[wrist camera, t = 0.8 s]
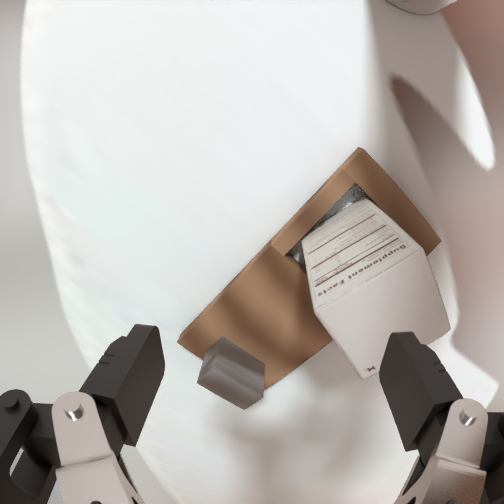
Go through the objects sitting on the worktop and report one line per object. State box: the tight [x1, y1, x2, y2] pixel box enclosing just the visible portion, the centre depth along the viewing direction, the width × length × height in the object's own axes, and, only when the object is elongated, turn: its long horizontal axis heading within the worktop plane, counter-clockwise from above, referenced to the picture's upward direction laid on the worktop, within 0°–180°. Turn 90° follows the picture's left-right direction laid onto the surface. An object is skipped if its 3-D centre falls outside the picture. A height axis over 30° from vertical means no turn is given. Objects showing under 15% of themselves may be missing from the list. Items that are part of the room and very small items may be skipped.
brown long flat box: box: [177, 147, 441, 409], centre depth 27 cm, size 27×12×6 cm, turn 139°
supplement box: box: [301, 197, 451, 379], centre depth 22 cm, size 7×7×13 cm
